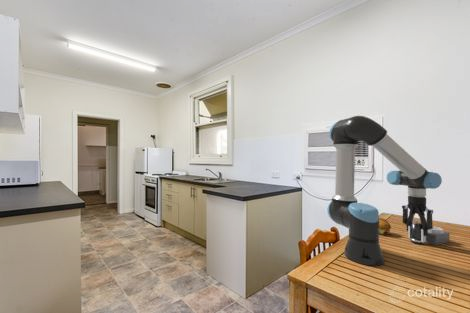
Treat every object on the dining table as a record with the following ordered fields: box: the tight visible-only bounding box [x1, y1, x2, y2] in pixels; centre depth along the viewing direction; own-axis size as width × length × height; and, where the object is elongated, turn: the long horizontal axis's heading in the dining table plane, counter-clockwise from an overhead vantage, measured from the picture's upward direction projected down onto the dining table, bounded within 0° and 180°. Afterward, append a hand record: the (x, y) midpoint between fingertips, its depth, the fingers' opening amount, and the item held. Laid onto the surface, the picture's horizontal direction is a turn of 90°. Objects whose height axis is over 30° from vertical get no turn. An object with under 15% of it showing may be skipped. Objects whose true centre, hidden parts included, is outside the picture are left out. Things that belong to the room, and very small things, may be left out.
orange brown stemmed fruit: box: [379, 217, 392, 235], centre depth 132 cm, size 10×11×10 cm
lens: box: [410, 221, 424, 245], centre depth 117 cm, size 5×5×10 cm
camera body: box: [425, 225, 451, 246], centre depth 120 cm, size 13×9×7 cm
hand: (416, 239), depth 117 cm, fingers closed on lens, 5 cm apart
